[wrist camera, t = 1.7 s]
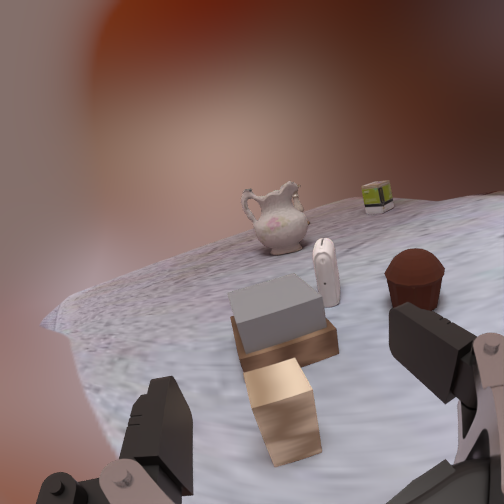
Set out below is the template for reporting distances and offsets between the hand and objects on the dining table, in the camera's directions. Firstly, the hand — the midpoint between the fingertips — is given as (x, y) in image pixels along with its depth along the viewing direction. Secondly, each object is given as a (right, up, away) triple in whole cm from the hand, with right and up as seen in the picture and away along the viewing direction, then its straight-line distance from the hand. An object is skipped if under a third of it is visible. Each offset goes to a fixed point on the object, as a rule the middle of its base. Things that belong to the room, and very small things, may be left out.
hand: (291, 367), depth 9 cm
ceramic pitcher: (+10, +4, +94) cm, 94 cm away
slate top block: (+2, -7, +34) cm, 35 cm away
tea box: (+64, +25, +122) cm, 140 cm away
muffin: (+28, -6, +35) cm, 45 cm away
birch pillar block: (+3, -16, +15) cm, 23 cm away
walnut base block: (+4, -12, +35) cm, 37 cm away
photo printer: (+15, -6, +48) cm, 51 cm away
